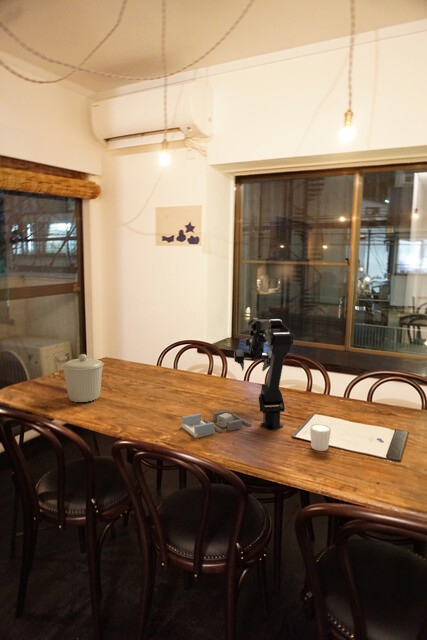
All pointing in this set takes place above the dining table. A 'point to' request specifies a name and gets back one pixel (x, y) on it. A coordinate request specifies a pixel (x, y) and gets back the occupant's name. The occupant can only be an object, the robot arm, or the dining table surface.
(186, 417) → the drawer
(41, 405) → the dining table surface
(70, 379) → the canister
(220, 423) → the usb wall charger
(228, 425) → the blocks
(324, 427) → the shot glass
